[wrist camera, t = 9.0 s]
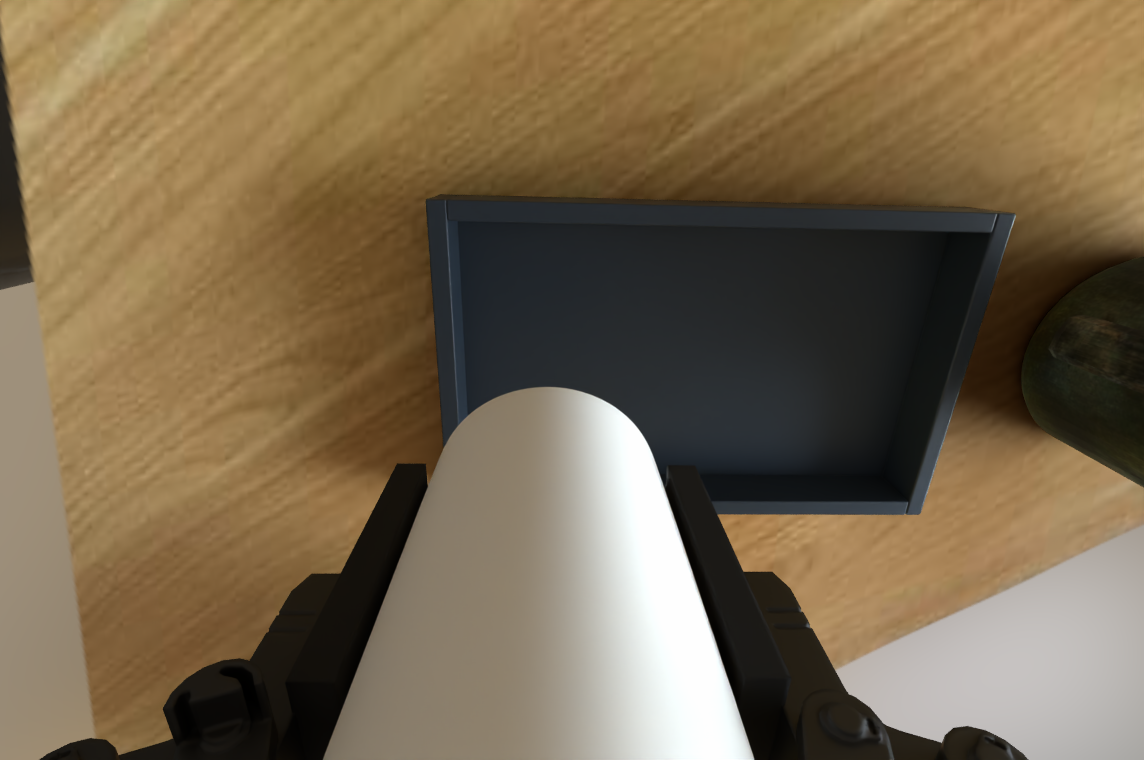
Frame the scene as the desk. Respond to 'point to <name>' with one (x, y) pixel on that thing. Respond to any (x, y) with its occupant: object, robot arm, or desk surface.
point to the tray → (726, 332)
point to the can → (542, 605)
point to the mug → (1093, 369)
